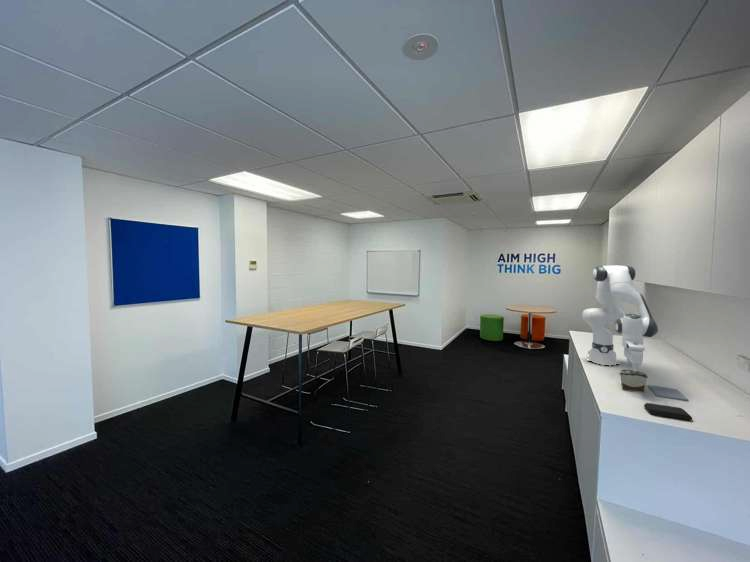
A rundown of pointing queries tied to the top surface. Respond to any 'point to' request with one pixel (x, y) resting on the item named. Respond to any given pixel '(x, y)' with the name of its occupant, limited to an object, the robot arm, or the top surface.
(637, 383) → the food container
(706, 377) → the top surface
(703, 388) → the top surface
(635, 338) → the robot arm
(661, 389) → the slate mat
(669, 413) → the carrying case or bag
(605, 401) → the top surface
